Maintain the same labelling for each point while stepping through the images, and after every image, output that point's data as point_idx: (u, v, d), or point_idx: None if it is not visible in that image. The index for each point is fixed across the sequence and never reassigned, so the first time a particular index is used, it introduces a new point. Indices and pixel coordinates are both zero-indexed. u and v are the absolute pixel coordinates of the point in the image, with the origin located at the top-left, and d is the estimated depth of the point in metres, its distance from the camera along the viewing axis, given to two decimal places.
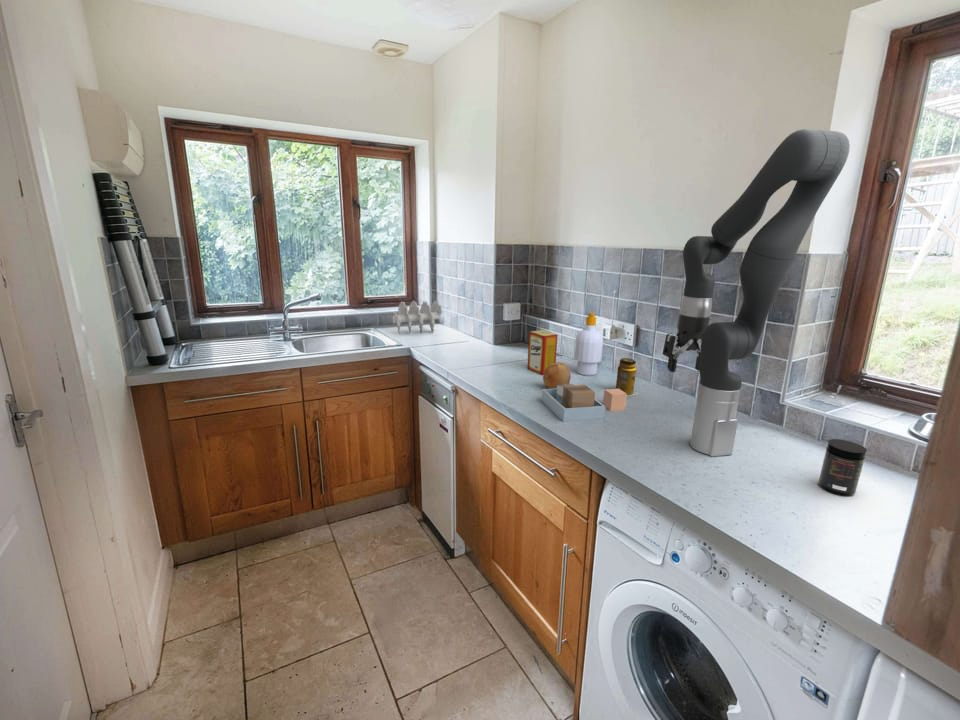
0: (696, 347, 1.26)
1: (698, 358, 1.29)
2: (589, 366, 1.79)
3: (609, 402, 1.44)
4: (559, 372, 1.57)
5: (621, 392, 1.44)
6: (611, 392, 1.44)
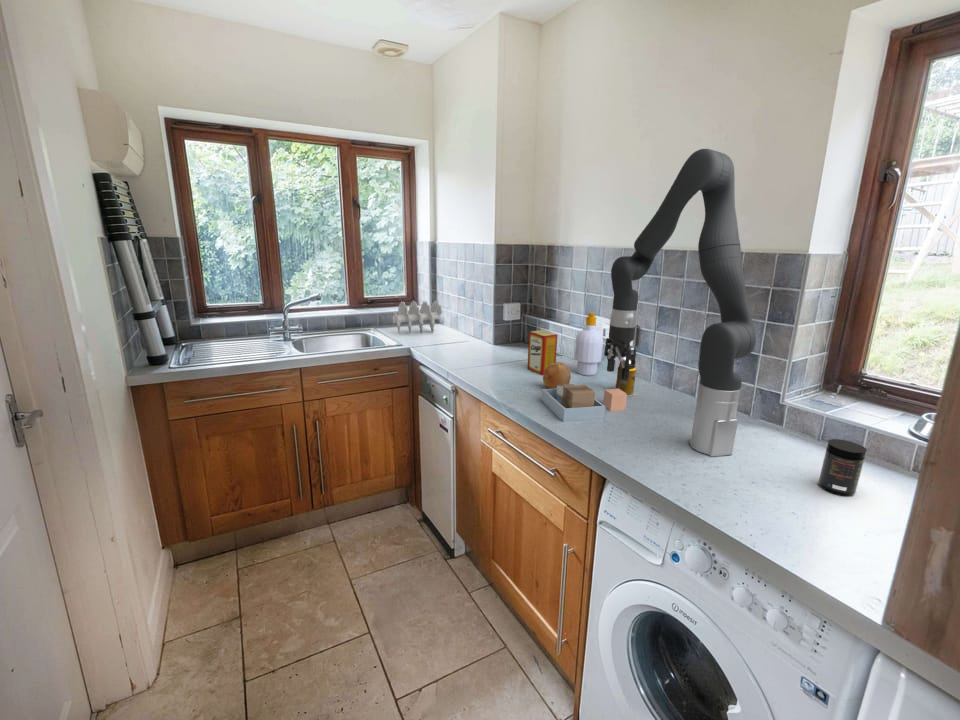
0: None
1: (611, 361, 1.46)
2: (589, 366, 1.79)
3: (609, 402, 1.44)
4: (559, 372, 1.57)
5: (621, 392, 1.44)
6: (611, 392, 1.44)
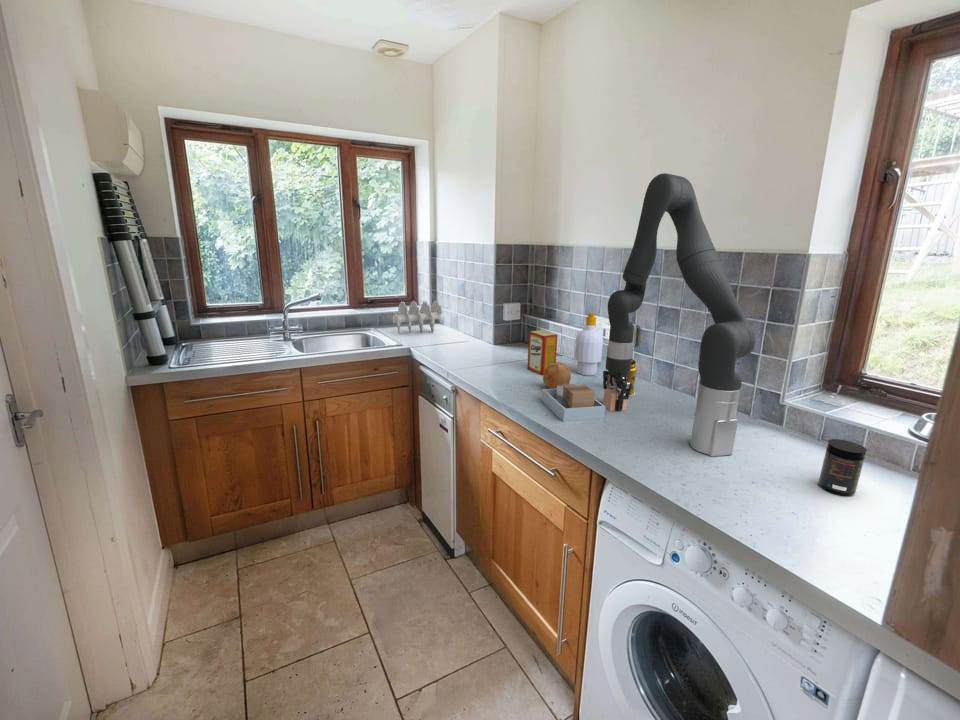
0: None
1: None
2: (589, 366, 1.79)
3: (609, 402, 1.44)
4: (559, 372, 1.57)
5: None
6: (611, 392, 1.44)
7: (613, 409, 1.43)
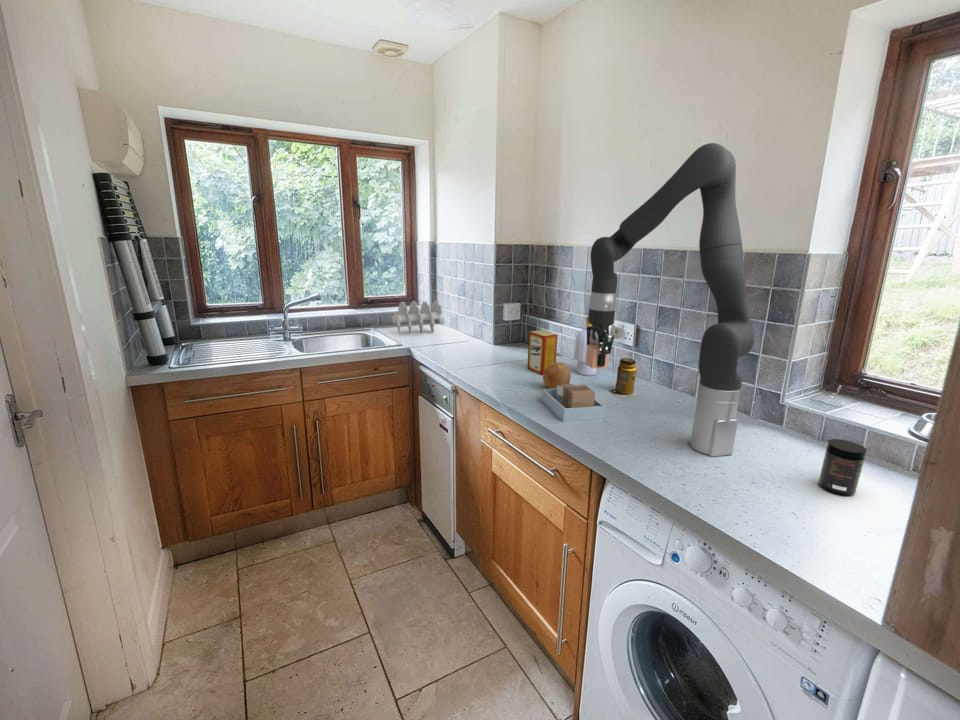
0: None
1: None
2: None
3: (591, 357, 1.37)
4: (559, 372, 1.57)
5: None
6: (594, 347, 1.37)
7: (595, 365, 1.36)
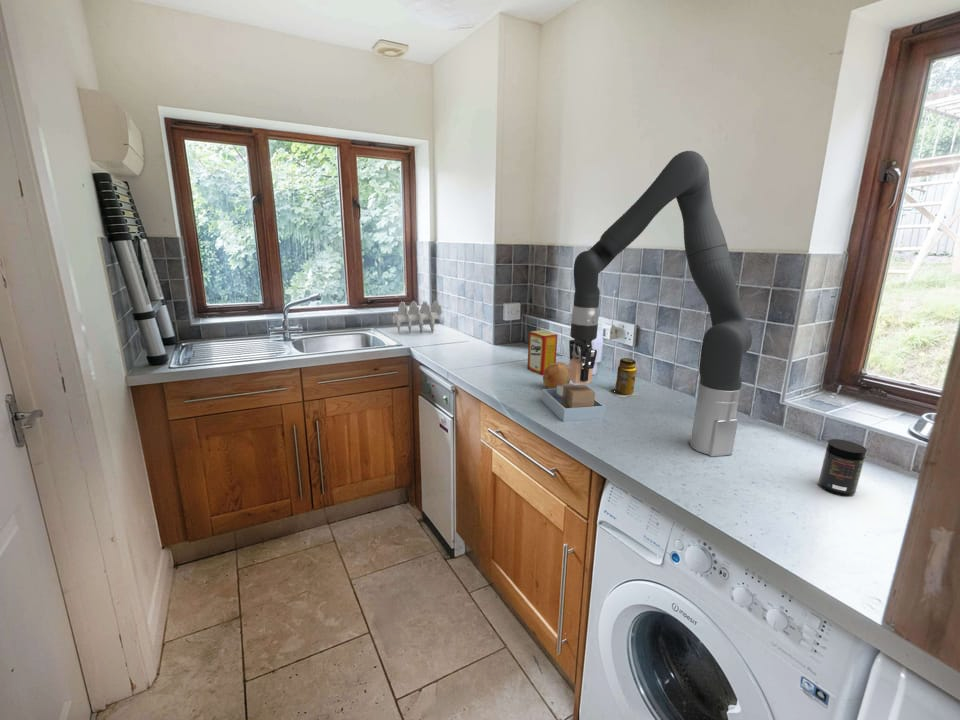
0: None
1: None
2: None
3: (574, 372, 1.35)
4: (559, 372, 1.57)
5: None
6: (577, 361, 1.35)
7: (578, 380, 1.34)
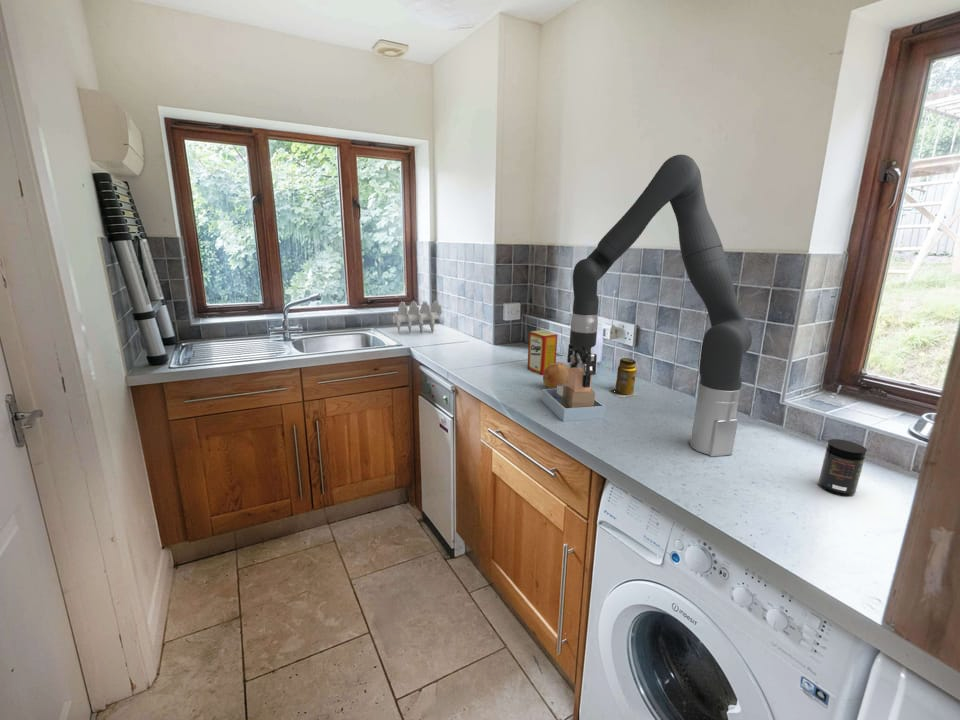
0: None
1: None
2: None
3: (573, 380, 1.35)
4: (559, 372, 1.57)
5: None
6: (576, 370, 1.35)
7: (577, 388, 1.35)
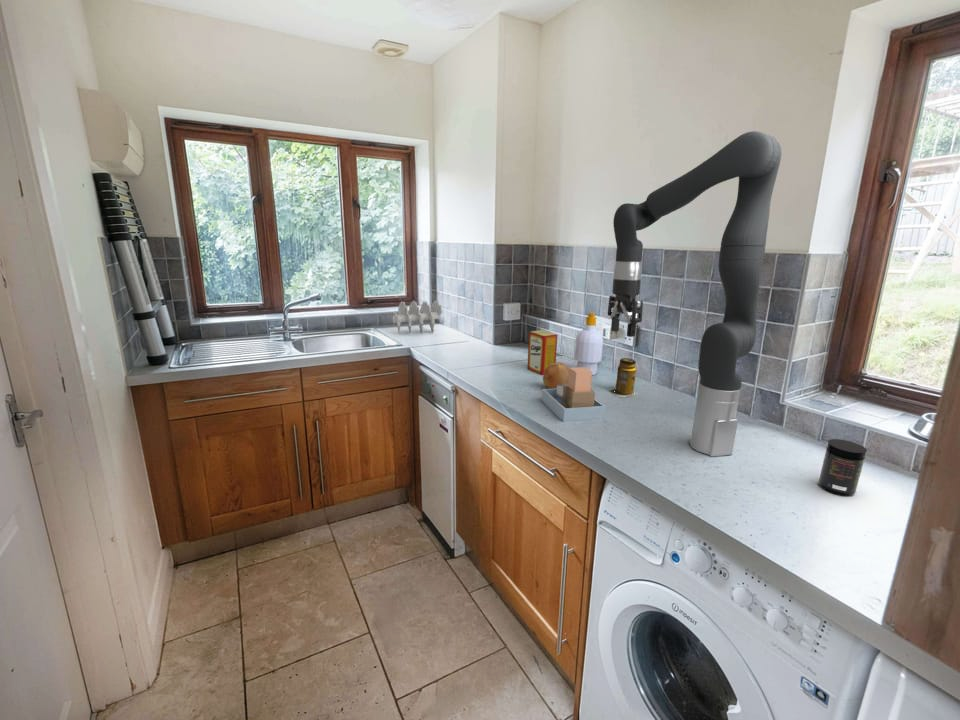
0: None
1: (615, 320, 1.38)
2: (589, 366, 1.79)
3: (573, 380, 1.35)
4: (559, 372, 1.57)
5: (587, 370, 1.35)
6: (576, 370, 1.35)
7: (577, 388, 1.35)
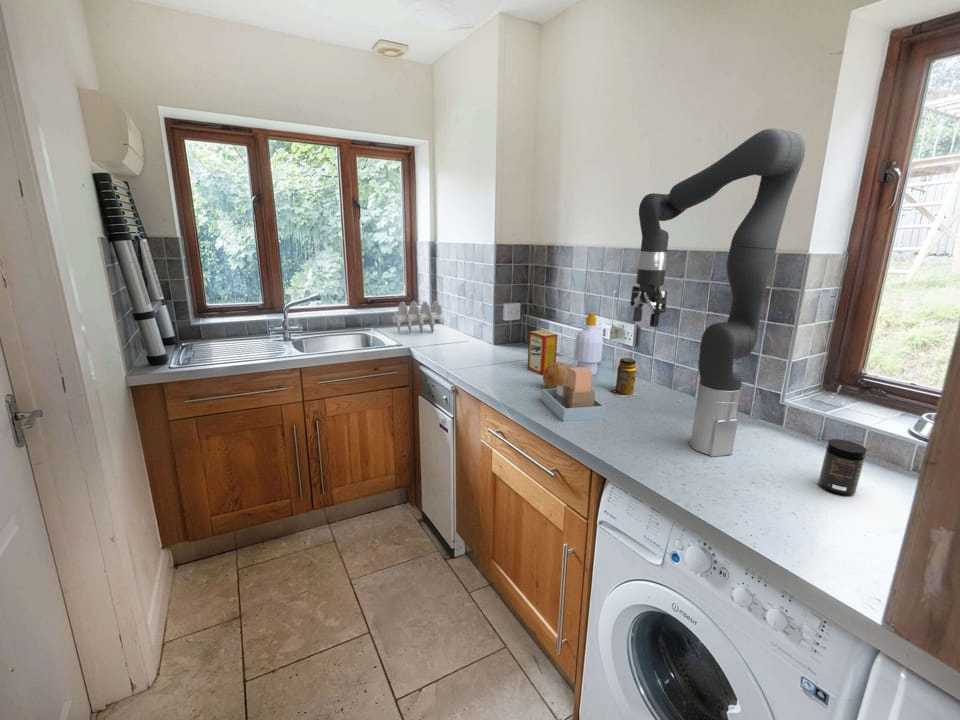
0: None
1: (638, 310, 1.39)
2: (589, 366, 1.79)
3: (573, 380, 1.35)
4: (559, 372, 1.57)
5: (587, 370, 1.35)
6: (576, 370, 1.35)
7: (577, 388, 1.35)
